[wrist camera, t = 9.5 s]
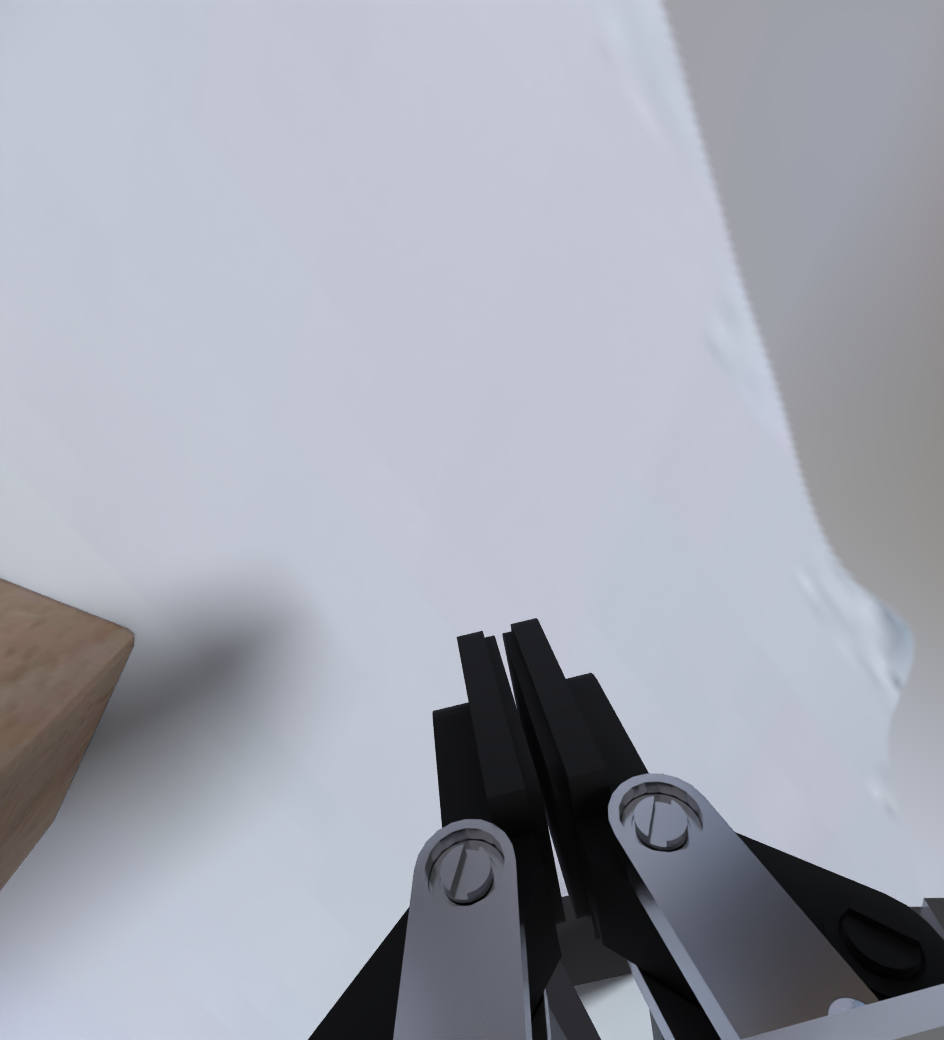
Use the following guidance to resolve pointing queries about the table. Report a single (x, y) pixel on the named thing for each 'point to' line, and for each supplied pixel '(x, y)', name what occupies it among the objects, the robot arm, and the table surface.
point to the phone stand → (580, 977)
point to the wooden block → (47, 707)
